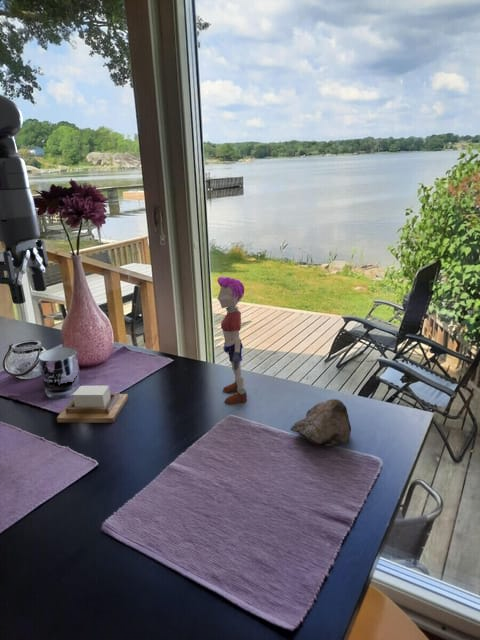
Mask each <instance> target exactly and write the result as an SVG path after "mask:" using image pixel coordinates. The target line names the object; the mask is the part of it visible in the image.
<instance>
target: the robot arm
mask: <svg viewBox="0 0 480 640" xmlns="http://www.w3.org/2000/svg"><path fill="white" fill-rule="evenodd" d="M23 119H24V117H23V114H22V111H21V110H20V108H19V106H18V105H17V104H16V103H15V102H14V101H13V100H12V99H10V98H8V97H7V96H5V95H3V94H0V242H1V243H3V244H4V250H0V285H7V286H8V288H9V292H10V297H11V301H12V303H13V304H14V305H23V304H25V303H26V301H27V300H26V295H25V290H24V286H23V283H22V281H23V275H24V274H26V272H27V269H29V271H30V272H31V275H32V276H31V277H32V282H33V287H34V291H35V292H45V291H47V284H46V278H45V273H46V268H49V267H50V264H49V259H48V254H47V250H46V249H47V248H46V245H45V240H44V239H43V238H42V239H41V238H40V237H41V233H40V232H41V231H40V227H39V222H38V216H37V209H36V205H35V200H34V196H33V194H32V190H31V186H30V179H29V175H28V174H29V173H28V169H27V165H26V161H25V160H24V159H23V157H22V156H20V155H19V152H18V149H17V145H16V140H15V136H16V135H18V133H19V132H20V131H21V130H22V127H23V124H24V120H23ZM39 238H40V239H39ZM5 272H6V275H5Z"/></svg>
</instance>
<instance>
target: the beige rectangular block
mask: <svg viewBox="0 0 480 640" xmlns="http://www.w3.org/2000/svg"><path fill="white" fill-rule="evenodd" d="M110 393H111V390H110V385H80V386H79V387H78V388H77V389H76V390H75V391H74V392H73V394H72V399H74V405H75V407H89V408H106V407H107V405H108V404H109V402H110V401H111V396H110Z"/></svg>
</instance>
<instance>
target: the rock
mask: <svg viewBox="0 0 480 640" xmlns="http://www.w3.org/2000/svg"><path fill="white" fill-rule="evenodd" d="M290 431H292V432H295V433H298V434H299V435H301V436H303V437H305V438H306V440H308V441H309V442H311V443H314V444H317V445H320V444H322V445H324V446H325V447H327V448H331V447H333V446H338V445H342V444H343V445H347V444H348V443H349V441H350V437H351V433H352V426H351V422H350V418H349V413H348V409H347V406H346V405H345V403H344V402H342V401H341V400H340V399H338V398H337V399H334V398H333V399H328V400H326V401H325V402H318V403H316V404H315V405H313V406H312V407H311V408H310V409H308V410H307V412H306V414H305V418H302V419H300V420H298V421H296V422H295V423H294V424H293V425H292V426H291V427H290Z"/></svg>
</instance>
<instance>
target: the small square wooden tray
mask: <svg viewBox="0 0 480 640" xmlns="http://www.w3.org/2000/svg"><path fill="white" fill-rule="evenodd" d="M110 396H111V401H110V402H109V404H108V405H107V407H106V408H89V407H75V405H74V399H73V398H71V400H70V401H69V402H68V403H67V404H66V406H65V407H64V408H63V409H62V411H60V413H59V414H58V416H57V417H56V422H57V423H90V424H91V423H92V424H93V423H97V424H99V423H100V424H101V423H102V424H103V423H104V424H105V423H107V424H108V423H109V424H110V423H111V424H114V422H115V421H116V419H117V417H118V416H119V414H120V412H121V411H122V409H123V408H124V406H125V404H126V402H127V401H128V399H129V395H128V393H119V392H110Z"/></svg>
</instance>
